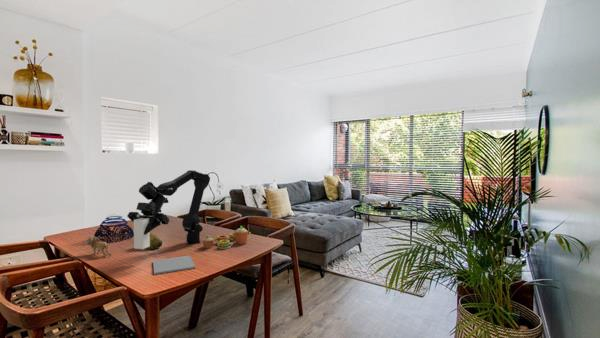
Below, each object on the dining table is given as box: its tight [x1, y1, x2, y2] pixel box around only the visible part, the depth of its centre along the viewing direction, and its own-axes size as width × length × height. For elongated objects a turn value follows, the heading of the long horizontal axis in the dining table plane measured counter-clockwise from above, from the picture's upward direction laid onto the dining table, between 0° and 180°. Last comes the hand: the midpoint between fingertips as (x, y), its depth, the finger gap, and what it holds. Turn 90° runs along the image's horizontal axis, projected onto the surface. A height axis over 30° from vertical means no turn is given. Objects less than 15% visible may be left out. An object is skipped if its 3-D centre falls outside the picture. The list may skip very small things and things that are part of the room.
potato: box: [146, 231, 163, 250], centre depth 158 cm, size 8×13×8 cm, turn 56°
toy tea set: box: [202, 225, 251, 250], centre depth 165 cm, size 26×16×10 cm, turn 143°
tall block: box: [133, 218, 151, 250], centre depth 136 cm, size 4×4×13 cm
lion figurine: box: [85, 235, 112, 258], centre depth 146 cm, size 15×5×9 cm, turn 72°
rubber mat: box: [152, 255, 196, 276], centre depth 133 cm, size 16×16×1 cm
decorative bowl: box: [93, 212, 134, 244], centre depth 176 cm, size 20×20×14 cm
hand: (139, 233), depth 135 cm, fingers closed on tall block, 4 cm apart
